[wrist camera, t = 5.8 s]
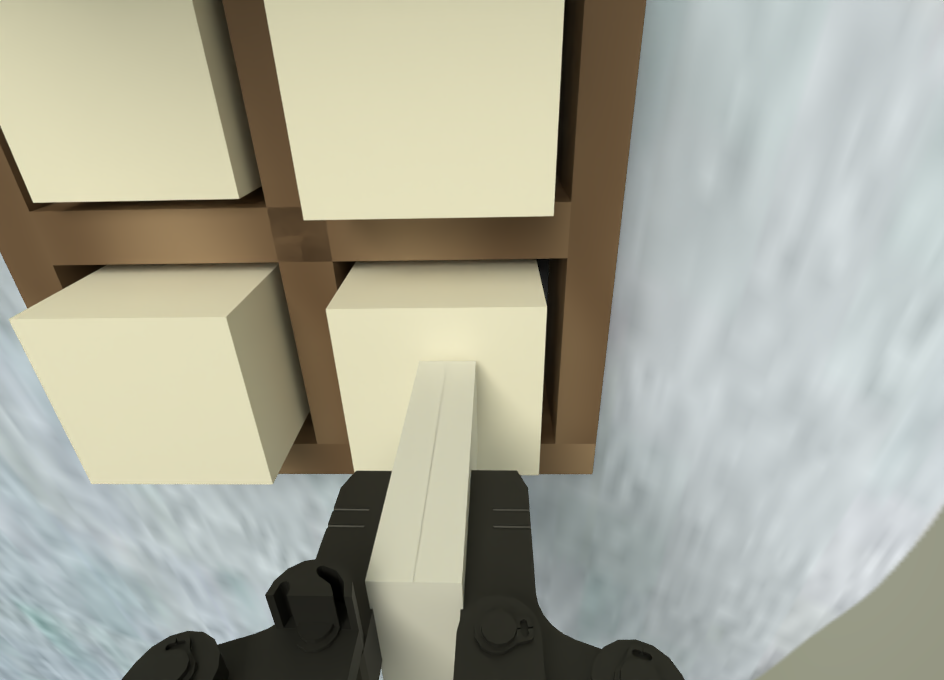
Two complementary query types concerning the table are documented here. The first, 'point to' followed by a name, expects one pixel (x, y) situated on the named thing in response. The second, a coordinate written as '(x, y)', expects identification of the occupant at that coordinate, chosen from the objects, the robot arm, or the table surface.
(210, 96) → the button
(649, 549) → the table surface
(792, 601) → the table surface
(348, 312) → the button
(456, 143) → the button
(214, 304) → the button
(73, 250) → the board
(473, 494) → the robot arm
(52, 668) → the table surface
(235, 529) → the table surface
